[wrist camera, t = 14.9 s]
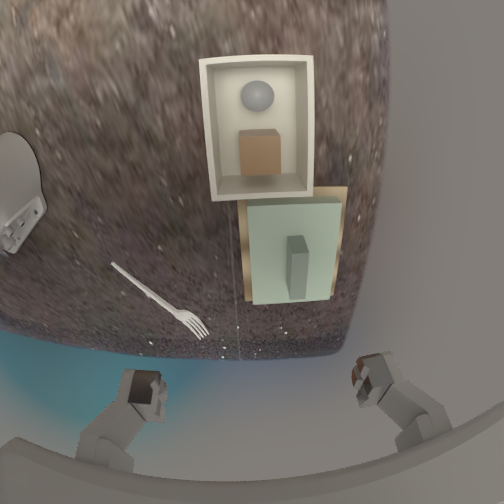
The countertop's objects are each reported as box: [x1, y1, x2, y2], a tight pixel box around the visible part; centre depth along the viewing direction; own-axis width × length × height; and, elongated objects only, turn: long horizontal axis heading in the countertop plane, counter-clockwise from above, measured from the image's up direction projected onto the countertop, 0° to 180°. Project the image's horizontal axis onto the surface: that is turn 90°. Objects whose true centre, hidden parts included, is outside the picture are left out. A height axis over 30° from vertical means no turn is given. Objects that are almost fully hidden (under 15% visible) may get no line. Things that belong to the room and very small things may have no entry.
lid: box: [247, 196, 342, 305], centre depth 36 cm, size 15×11×6 cm
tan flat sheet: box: [237, 186, 347, 301], centre depth 39 cm, size 18×14×1 cm
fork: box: [111, 262, 209, 340], centre depth 43 cm, size 3×20×2 cm, turn 43°
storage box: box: [199, 55, 314, 201], centre depth 26 cm, size 14×10×7 cm
